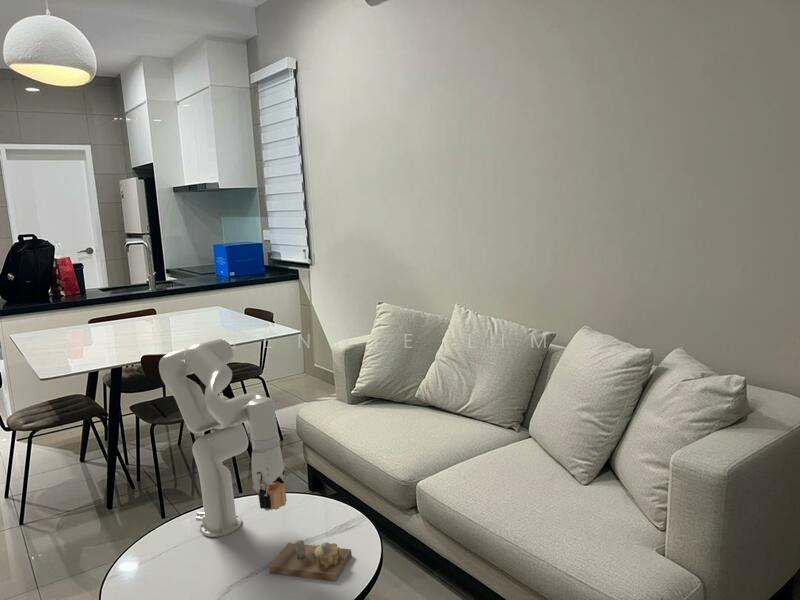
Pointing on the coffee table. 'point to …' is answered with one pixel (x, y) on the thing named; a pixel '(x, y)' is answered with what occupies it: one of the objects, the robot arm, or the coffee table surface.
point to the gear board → (311, 561)
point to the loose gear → (276, 495)
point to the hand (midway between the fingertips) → (273, 500)
